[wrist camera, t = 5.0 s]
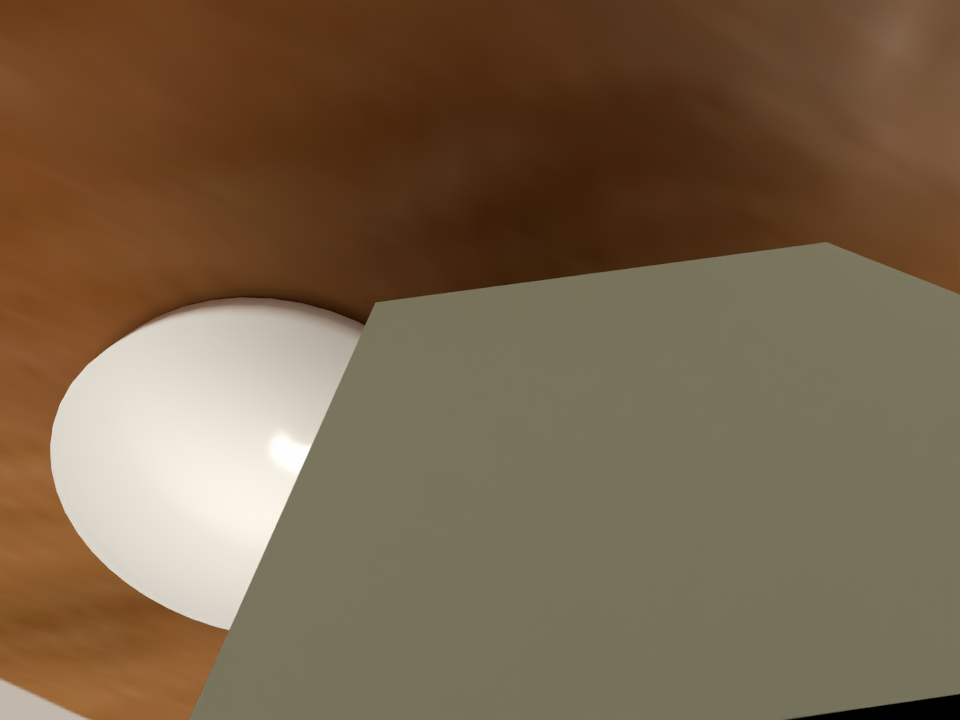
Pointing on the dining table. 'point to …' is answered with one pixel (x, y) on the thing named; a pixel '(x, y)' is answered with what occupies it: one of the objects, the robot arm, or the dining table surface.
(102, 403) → the plate
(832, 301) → the sage cube
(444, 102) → the dining table surface
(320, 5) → the dining table surface
